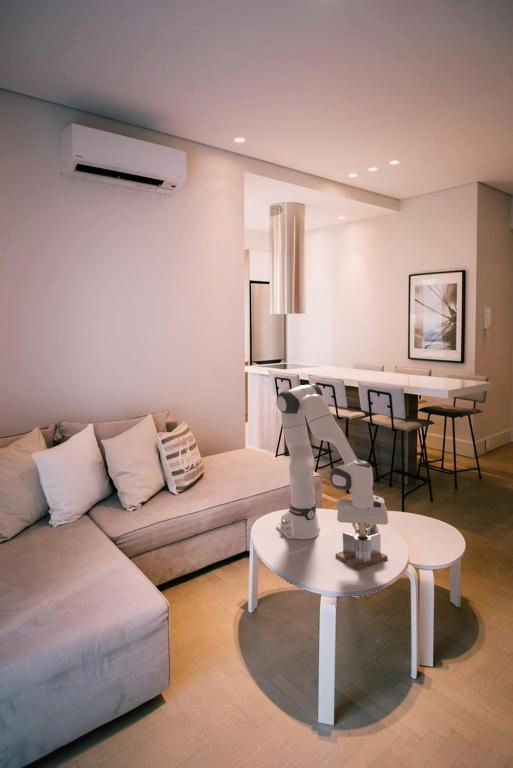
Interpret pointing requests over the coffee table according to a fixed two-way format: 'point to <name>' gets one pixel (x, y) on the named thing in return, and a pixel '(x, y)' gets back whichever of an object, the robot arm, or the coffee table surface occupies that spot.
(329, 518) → the coffee table surface
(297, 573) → the coffee table surface
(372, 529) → the geometric puzzle
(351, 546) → the grey socket block
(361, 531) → the pin
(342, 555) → the base board
